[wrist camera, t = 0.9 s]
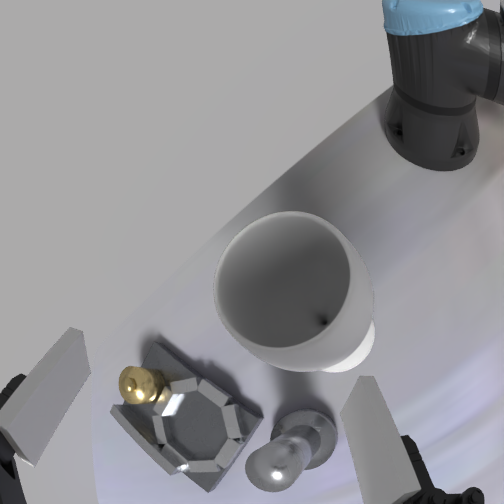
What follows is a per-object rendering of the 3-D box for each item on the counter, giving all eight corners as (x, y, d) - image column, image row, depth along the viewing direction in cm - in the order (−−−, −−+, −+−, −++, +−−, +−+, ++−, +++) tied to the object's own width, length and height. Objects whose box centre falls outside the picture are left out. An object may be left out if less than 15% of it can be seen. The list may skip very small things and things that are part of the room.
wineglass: (291, 365, 31) (175, 353, 13) (305, 292, 33) (218, 193, 16) (367, 377, 27) (363, 395, 9) (379, 299, 30) (384, 191, 12)
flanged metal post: (295, 398, 29) (255, 411, 19) (349, 426, 25) (337, 457, 15) (265, 445, 28) (213, 475, 18) (316, 474, 24) (285, 520, 14)
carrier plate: (162, 339, 39) (130, 331, 33) (267, 414, 29) (243, 422, 24) (126, 410, 36) (94, 410, 31) (214, 489, 27) (186, 505, 22)
